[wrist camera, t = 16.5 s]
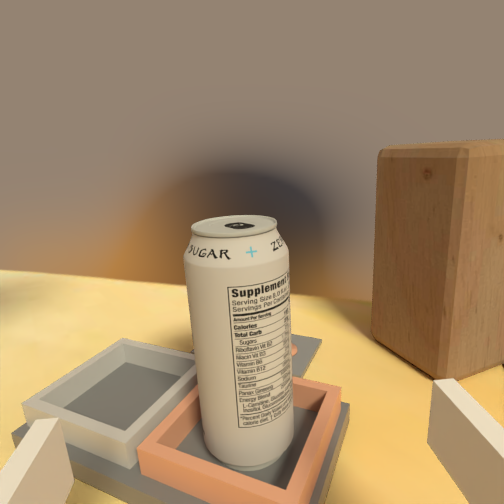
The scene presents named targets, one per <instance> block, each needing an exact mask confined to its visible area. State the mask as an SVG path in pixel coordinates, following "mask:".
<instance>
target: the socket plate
mask: <svg viewBox="0 0 504 504" xmlns="http://www.w3.org/2000/svg"><path fill="white" fill-rule="evenodd" d="M292 380H293V412H294V434H293V438H292V441H291V443H290V445H289V446H288V448H287V449H286V450H285V451H284V452H283V454H282V455H281V456H280V458H279V459H278V460H277V461H276V462H274V463H273V464H271V465H270V466H268V467H266V468H263V469H260V470H255V471H239V470H235V469H232V468H229V467H228V466H226V465H224V464H223V463H222V462H221V461H219V459H218V458H216V457H215V456H214V455H213V454H212V453H211V452H210V451H209V450H208V448H207V447H206V444H205V441H204V434H203V425H202V417H201V408H200V399H199V390H198V381H197V372H196V364H195V355H194V354H191V353H187V352H182V351H178V350H174V349H169V348H165V347H160V346H156V345H151V344H147V343H142V342H138V341H133V340H129V339H125V338H122V339H120V340H119V341H117V342H115V343H114V344H112V345H111V346H109V347H108V348H106V349H105V350H103V351H102V352H100V353H98V354H97V355H95V356H94V357H92V358H91V359H89V360H88V361H86V362H85V363H83V364H82V365H80V366H78V367H77V368H75V369H74V370H72V371H71V372H69V373H68V374H66V375H65V376H63V377H61V378H60V379H58V380H57V381H55V382H54V383H52V384H51V385H49V386H48V387H46V388H44V389H43V390H41V391H40V392H38V393H37V394H35V395H34V396H32V397H31V398H29V399H27V400H26V401H24V402H23V403H21V404H22V407H23V411H24V415H25V418H26V422H27V423H25V424H24V425H22V426H21V427H19V428H18V429H17V430H15V431H14V432H12V433H11V434H12V438H13V441H14V445H15V448H17V447H18V445H19V444H20V442H21V441H22V439H23V438H24V436H25V435H26V433H27V432H28V430H29V429H30V427H31V426H32V425H33V423H34V422H35V420H38V419H48V418H58V417H59V419H60V423H61V427H62V432H63V436H64V440H65V444H66V448H67V452H68V456H69V461H70V465H71V469H72V473H73V477H74V478H76V479H78V480H80V481H82V482H84V483H87V484H89V485H91V486H93V487H95V488H97V489H99V490H101V491H103V492H105V493H108V494H110V495H112V496H114V497H116V498H118V499H120V500H122V501H124V502H126V503H128V504H324V503H325V500H326V496H327V493H328V490H329V486H330V483H331V480H332V476H333V473H334V470H335V466H336V463H337V460H338V456H339V453H340V450H341V446H342V443H343V440H344V436H345V433H346V430H347V426H348V423H349V411H350V404H348V403H344V402H341V387H338V386H334V385H329V384H325V383H320V382H316V381H311V380H307V379H303V378H298V377H294V376H292Z"/></svg>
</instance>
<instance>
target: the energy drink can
mask: <svg viewBox="0 0 504 504" xmlns="http://www.w3.org/2000/svg"><path fill="white" fill-rule="evenodd" d="M276 226H277V221H276V220H275V219H274V218H271V217H267V216H258V215H236V216H224V217H216V218H211V219H206V220H202V221H199V222H197V223H194V224H193V225H192V226H191V230H192V232H193V235H192V237H191V240H190V242H189V245H188V247H187V249H186V252H185V254H184V266H185V275H186V283H187V293H188V302H189V311H190V320H191V328H192V337H193V346H194V355H195V364H196V372H197V381H198V390H199V399H200V408H201V417H202V425H203V434H204V441H205V444H206V447H207V448H208V450H209V451H210V452H211V453H212V454H213V455H214V456H215V457H216V458H218V459H219V461H221V462H222V463H223V464H224V465H226V466H228V467H229V468H232V469H235V470H239V471H255V470H260V469H263V468H266V467H268V466H270V465H271V464H273V463H274V462H276V461H277V460H278V459H279V458H280V456H281V455H282V454H283V452H284V451H285V450H286V449H287V448H288V446H289V445H290V443H291V441H292V438H293V434H294V412H293V380H292V347H291V315H290V283H289V251H288V248H287V246H286V245H285V243H284V241H283V239H282V238H281V236H280V234H279V233H278V232H277V229H276Z"/></svg>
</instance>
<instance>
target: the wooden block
mask: <svg viewBox="0 0 504 504" xmlns="http://www.w3.org/2000/svg"><path fill="white" fill-rule="evenodd" d="M374 243H375V244H374V270H373V298H372V325H371V331H372V334H373V336H374V338H375V339H376V340H377V341H379V342H380V343H382V344H383V345H385V346H386V347H388V348H389V349H391V350H392V351H394V352H395V353H397V354H398V355H400V356H401V357H403V358H404V359H406V360H407V361H409V362H410V363H412V364H413V365H415V366H417V367H418V368H420V369H421V370H423V371H424V372H426V373H427V374H429V375H430V376H432V377H433V378H435V379H436V380H441V379H451V378H454V379H455V380H456V381H459V380H461V379H464V378H467V377H469V376H472V375H475V374H477V373H480V372H483V371H485V370H488V369H490V368H493V367H496V366H498V365H501V364H504V139H491V140H466V141H448V142H432V143H417V144H404V145H389V146H388V147H386V148H384V149H382V150H380V152H379V154H378V160H377V188H376V215H375V242H374Z"/></svg>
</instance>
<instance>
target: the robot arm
mask: <svg viewBox="0 0 504 504" xmlns="http://www.w3.org/2000/svg"><path fill="white" fill-rule="evenodd" d="M427 443H428V445H429V446H430V448H431V449H432V450H433V452H434V453H435V455H436V456H437V458H438V459H439V460H440V462H441V463H442V465H443V466H444V468H445V469H446V471H447V472H448V473H449V475H450V476H451V478H452V479H453V481H454V482H455V483H456V485H457V486H458V488H459V489H460V491H461V492H462V494H463V495H464V496H465V498H466V499H467V501H468V502H469V504H504V428H503V427H502V426H501V425H500V424H499V423H498V422H497V421H496V420H495V419H494V418H493V417H492V416H491V415H490V414H489V413H488V412H487V411H486V410H485V409H484V408H483V407H482V406H481V405H480V404H479V403H478V402H477V401H476V400H475V399H474V398H473V397H472V396H471V395H470V394H469V393H468V392H467V391H466V390H465V389H464V388H463V387H462V386H461V385H460V384H459V383H458V382H457V381H456V380H455V379H454V378H451V379H441V380H433V386H432V397H431V407H430V417H429V428H428V438H427ZM73 484H74V477H73V473H72V469H71V465H70V461H69V456H68V452H67V448H66V444H65V440H64V436H63V432H62V427H61V423H60V419H59V417H58V418H48V419H38V420H35V422H34V423H33V425H32V426H31V427H30V429H29V430H28V432H27V433H26V435H25V436H24V438H23V439H22V441H21V442H20V444H19V445H18V447H17V448H16V449H15V451H14V452H13V454H12V455H11V457H10V458H9V460H8V461H7V463H6V464H5V466H4V467H3V469H2V470H1V472H0V504H65V502H66V499H67V497H68V495H69V493H70V490H71V488H72V486H73Z"/></svg>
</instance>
